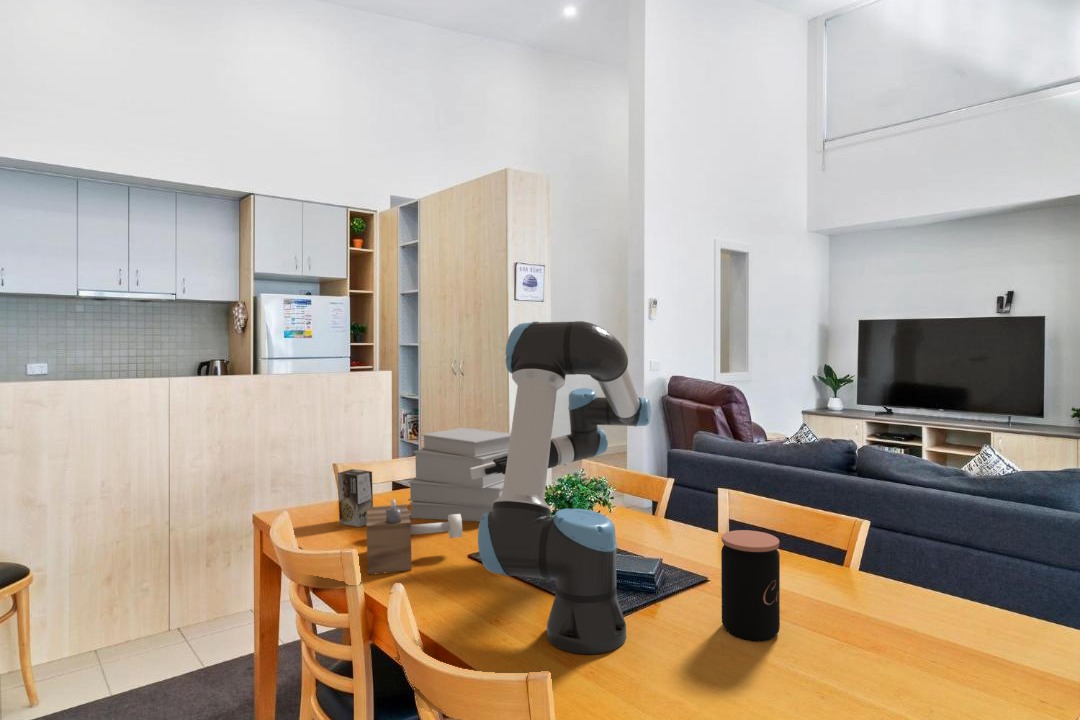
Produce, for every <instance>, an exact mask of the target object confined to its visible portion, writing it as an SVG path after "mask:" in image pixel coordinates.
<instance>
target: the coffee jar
mask: <svg viewBox="0 0 1080 720" xmlns="http://www.w3.org/2000/svg"><path fill="white" fill-rule="evenodd" d="M720 540H721V542H722V544H723V545H722V547H721V553H720V555H721V562H720V563H721V575H720V576H721V577H720V578H721V579H720V580H721V624H722V625H723V626H722V627H723V628H724V629H725V631H726V632H727V633H728V634H729V635H730V636H732V637H734V638H736V639H738V640H742V641H748V642H752V643H753V642H757V643H759V642H761V643H762V642H768V641H771V640H773V639H774V638H775V637H777V635H778V633H779V632H780V628H781V627H780V626H781V625H780V624H781V622H780V621H781V616H780V614H781V613H780V611H781V607H780V605H781V604H780V598H781V597H780V596H781V593H780V591H781V589H780V588H781V587H780V585H781V583H780V582H781V581H780V578H781V575H780V570H781V569H780V568H781V567H780V565H781V563H780V557H781V555H780V552H779V550H778V548H779V547H780V539H779V538H778V537H776V536H775V535H773V534H770V533H767V532H763V531H758V530H748V529H746V530H745V529H742V530H741V529H740V530H739V529H737V530H731V531H727V532H725V533H723V534H722V535H721V539H720Z"/></svg>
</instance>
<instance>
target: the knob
mask: <svg viewBox="0 0 1080 720" xmlns="http://www.w3.org/2000/svg"><path fill="white" fill-rule="evenodd" d="M442 532H448V537H449V538H450V539H454V538H462V537H463V521H462V519H461V514H452V515H448V520H447V521H442V522H430V523H420V524H417V523H416V524H412V525H411V535H412V536H413V535H421V534H433V533H442Z"/></svg>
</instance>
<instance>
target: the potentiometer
mask: <svg viewBox="0 0 1080 720" xmlns="http://www.w3.org/2000/svg"><path fill="white" fill-rule="evenodd" d="M390 504H391V505H390V506H391V508H389V509H386V523H388V524H395V523H399V522H401V509H400V508H395V505H396V499H391V500H390Z"/></svg>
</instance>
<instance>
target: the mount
mask: <svg viewBox="0 0 1080 720" xmlns="http://www.w3.org/2000/svg"><path fill="white" fill-rule="evenodd" d="M389 508H391V505H380V506H373V507H367V525H366V553H367V555H366V556H367V557H366V558H367V560H366V561H367V566H366V567H367V575H368V574H374V575H376V574H375V573H384V572H393V573H396V572H395V571H403V572H407V571H406V570H413V569H412V568H413V567H412V563H413V562H412V538H411V522H412V519H413V518H411V516H412V510H411V509H408V504H407V503H406V504H395V508H400V509H401V522H399V523H395V524H388V523H386V509H389ZM410 521H411V522H410ZM384 574H385V573H384Z"/></svg>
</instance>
